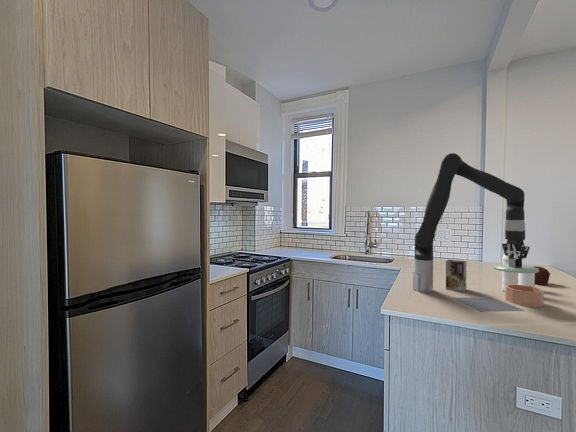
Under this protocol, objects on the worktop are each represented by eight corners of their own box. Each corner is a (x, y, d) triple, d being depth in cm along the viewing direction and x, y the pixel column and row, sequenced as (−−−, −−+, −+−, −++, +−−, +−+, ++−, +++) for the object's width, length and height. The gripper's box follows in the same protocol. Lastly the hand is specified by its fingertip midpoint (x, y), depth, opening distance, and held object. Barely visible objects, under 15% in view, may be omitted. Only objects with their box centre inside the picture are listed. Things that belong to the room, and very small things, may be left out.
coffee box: (466, 290, 163) (467, 261, 163) (463, 292, 158) (464, 262, 158) (448, 287, 169) (448, 259, 169) (445, 289, 165) (445, 260, 164)
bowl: (521, 307, 134) (522, 292, 133) (498, 298, 148) (498, 284, 147) (551, 307, 134) (551, 291, 134) (525, 298, 148) (525, 284, 148)
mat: (480, 312, 127) (480, 311, 127) (452, 298, 147) (452, 297, 147) (524, 311, 128) (524, 310, 128) (491, 298, 148) (491, 297, 148)
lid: (512, 273, 130) (511, 262, 130) (485, 266, 147) (484, 256, 147) (549, 272, 131) (549, 261, 131) (518, 265, 148) (518, 255, 148)
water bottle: (514, 290, 163) (515, 245, 162) (520, 293, 156) (521, 246, 155) (499, 289, 165) (500, 244, 164) (504, 292, 158) (505, 246, 158)
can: (517, 289, 165) (518, 267, 165) (519, 286, 170) (519, 266, 170) (534, 291, 160) (534, 269, 160) (534, 289, 165) (535, 267, 165)
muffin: (548, 286, 170) (548, 269, 170) (524, 283, 178) (524, 266, 178) (551, 283, 178) (551, 267, 177) (528, 280, 186) (528, 264, 186)
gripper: (496, 229, 146) (496, 263, 146) (519, 230, 132) (519, 269, 132) (510, 228, 146) (511, 263, 146) (535, 230, 132) (536, 268, 132)
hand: (515, 266), depth 139 cm, fingers closed on lid, 3 cm apart
